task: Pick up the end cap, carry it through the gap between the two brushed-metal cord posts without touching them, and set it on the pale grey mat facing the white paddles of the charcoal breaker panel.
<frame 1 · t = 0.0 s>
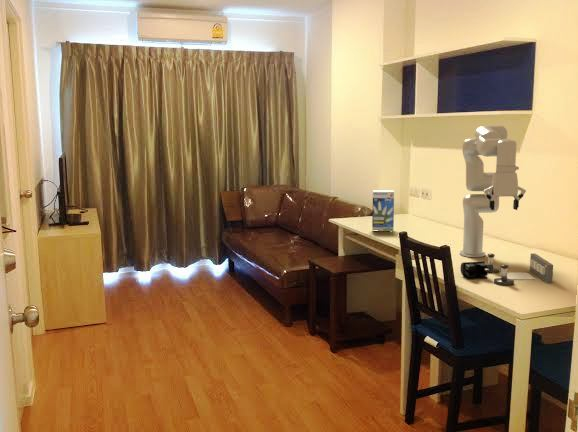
hand: (503, 209, 234), 31 cm above the table, tool pointing down, fingers open, 9 cm apart
post right: (503, 283, 235), on the table
view mat: (517, 276, 244), on the table
post left: (490, 271, 254), on the table
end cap: (474, 277, 245), on the table
breaker panel: (540, 276, 243), on the table
string lights box: (383, 231, 348), on the table
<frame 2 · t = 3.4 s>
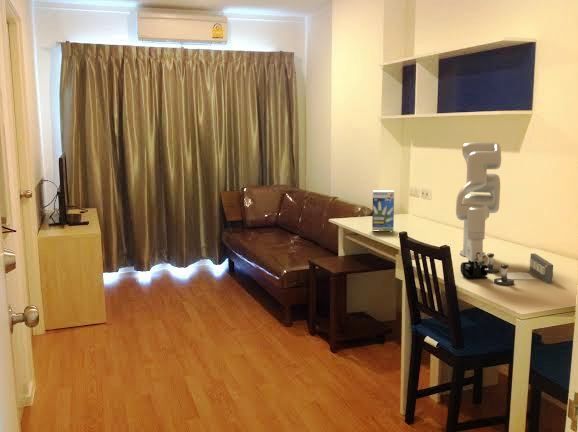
hand: (474, 273, 245), 2 cm above the table, tool pointing down, fingers closed on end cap, 7 cm apart
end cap: (473, 277, 245), on the table, touching gripper
everything else where it was.
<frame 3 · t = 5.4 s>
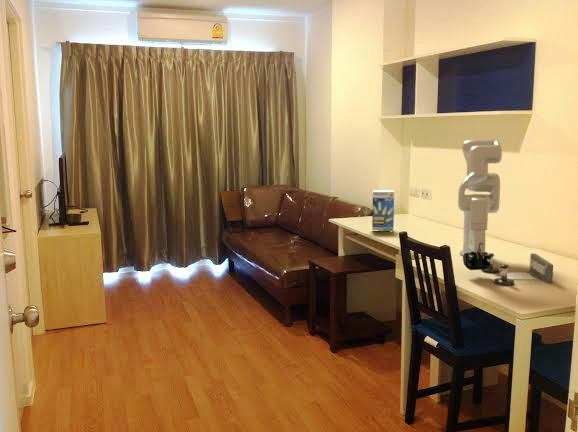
hand: (476, 264, 244), 6 cm above the table, tool pointing down, fingers closed on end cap, 7 cm apart
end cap: (476, 268, 245), point 4 cm above the table, touching gripper
everything else where it was.
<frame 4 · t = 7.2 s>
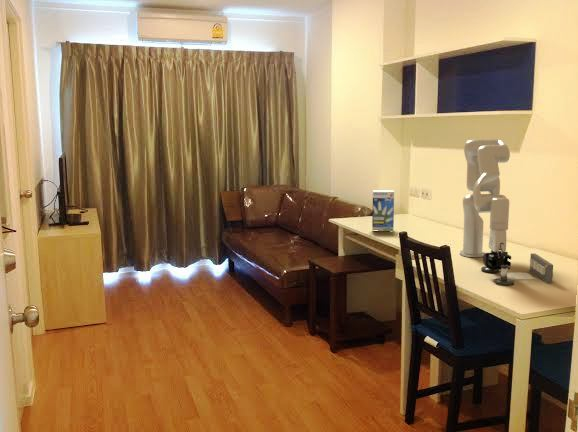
hand: (497, 264, 244), 6 cm above the table, tool pointing down, fingers closed on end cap, 7 cm apart
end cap: (496, 267, 244), point 4 cm above the table, touching gripper
everything else where it was.
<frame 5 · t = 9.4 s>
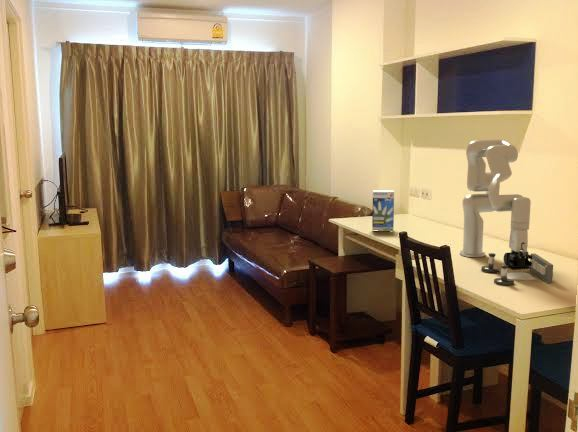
hand: (517, 263, 243), 6 cm above the table, tool pointing down, fingers closed on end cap, 7 cm apart
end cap: (517, 267, 244), point 4 cm above the table, touching gripper
everything else where it was.
when the fingers open (3 cm above the table, at t = 11.1 s): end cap drops 1 cm, resting on view mat.
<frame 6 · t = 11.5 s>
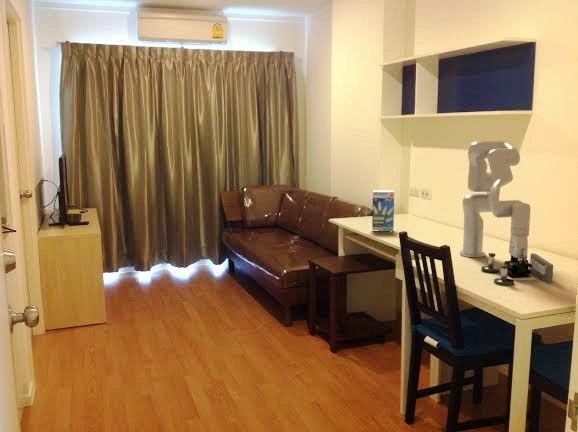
hand: (517, 268, 243), 4 cm above the table, tool pointing down, fingers open, 9 cm apart
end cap: (517, 276, 244), resting on view mat
everything else where it was.
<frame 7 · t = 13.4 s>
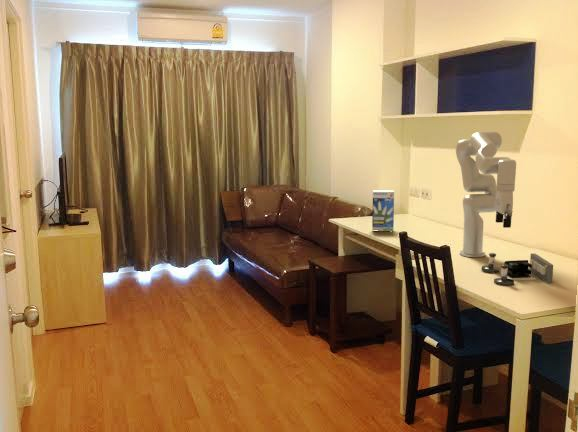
hand: (502, 224, 247), 22 cm above the table, tool pointing down, fingers open, 9 cm apart
nothing on the table moved.
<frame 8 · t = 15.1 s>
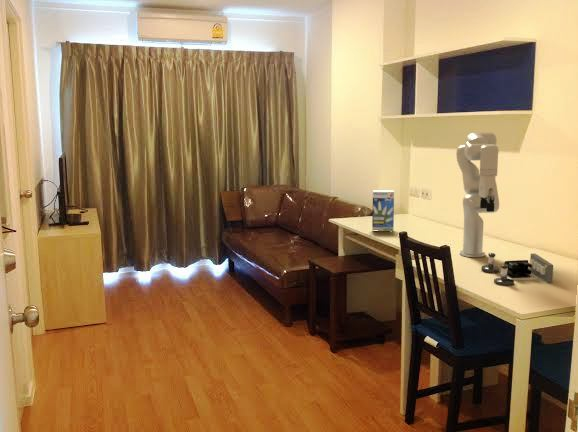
hand: (486, 209, 252), 28 cm above the table, tool pointing down, fingers open, 9 cm apart
nothing on the table moved.
at the end: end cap inside the target area (0.1 cm from its centre), resting on view mat; post left moved 0.3 cm from its start; post right moved 0.1 cm from its start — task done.
